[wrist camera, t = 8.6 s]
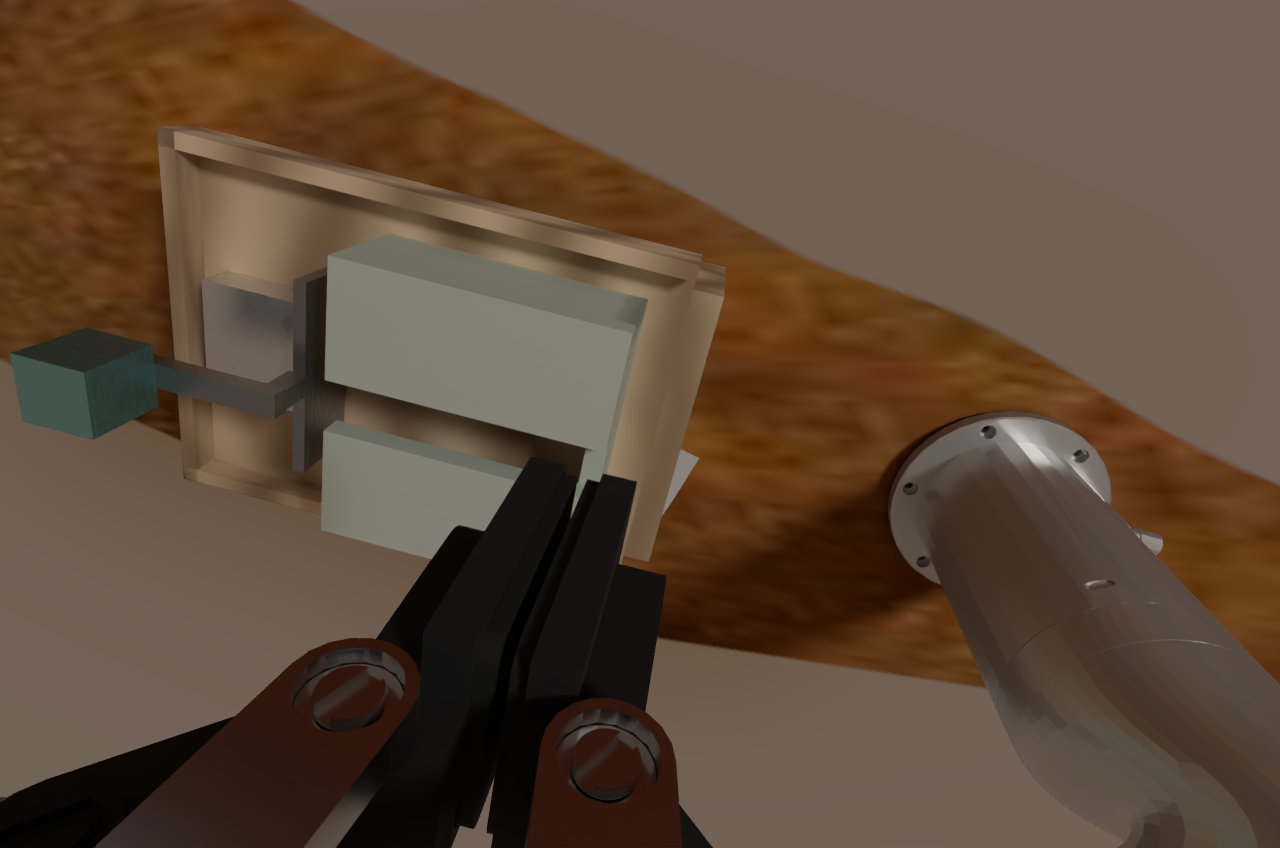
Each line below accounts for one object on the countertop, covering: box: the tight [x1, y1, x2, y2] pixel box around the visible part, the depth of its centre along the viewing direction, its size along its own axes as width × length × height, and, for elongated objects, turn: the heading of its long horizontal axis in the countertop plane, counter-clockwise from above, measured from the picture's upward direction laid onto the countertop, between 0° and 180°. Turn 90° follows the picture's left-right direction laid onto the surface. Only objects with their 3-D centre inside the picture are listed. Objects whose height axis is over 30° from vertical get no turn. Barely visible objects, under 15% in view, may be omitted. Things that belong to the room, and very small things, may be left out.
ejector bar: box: [10, 267, 346, 473], centre depth 32 cm, size 8×10×10 cm
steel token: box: [201, 270, 293, 411], centre depth 36 cm, size 6×6×2 cm
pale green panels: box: [321, 233, 648, 559], centre depth 34 cm, size 13×14×6 cm
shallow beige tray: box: [157, 126, 726, 564], centre depth 39 cm, size 27×19×8 cm
